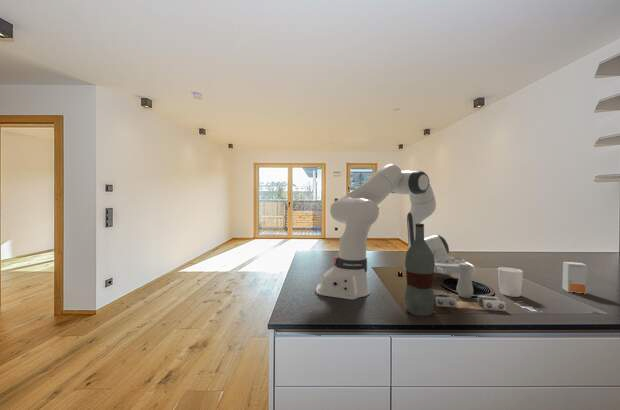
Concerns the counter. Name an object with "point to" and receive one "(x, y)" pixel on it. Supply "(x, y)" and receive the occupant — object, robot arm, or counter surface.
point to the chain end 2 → (491, 303)
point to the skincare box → (574, 277)
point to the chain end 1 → (444, 300)
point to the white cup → (510, 281)
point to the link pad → (468, 305)
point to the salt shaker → (464, 281)
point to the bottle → (419, 276)
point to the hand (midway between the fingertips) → (455, 272)
